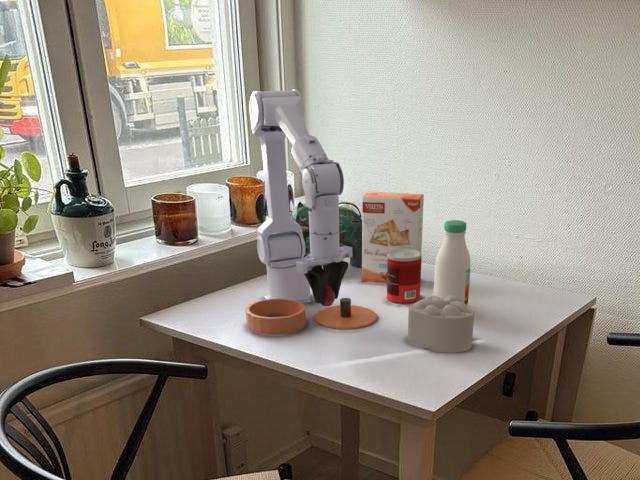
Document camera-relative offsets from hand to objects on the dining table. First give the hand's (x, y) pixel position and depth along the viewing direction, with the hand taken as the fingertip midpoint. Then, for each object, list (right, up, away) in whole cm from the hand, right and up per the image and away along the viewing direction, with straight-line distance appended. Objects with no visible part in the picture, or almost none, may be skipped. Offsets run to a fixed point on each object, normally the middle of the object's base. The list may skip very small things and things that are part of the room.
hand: (326, 300), depth 147 cm
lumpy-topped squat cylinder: (+24, -8, +3) cm, 25 cm away
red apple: (0, -1, +1) cm, 1 cm away
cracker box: (+15, +13, +36) cm, 41 cm away
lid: (+4, -1, +13) cm, 14 cm away
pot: (-11, -3, +11) cm, 16 cm away
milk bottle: (+27, +1, +17) cm, 32 cm away
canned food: (+17, +6, +24) cm, 30 cm away
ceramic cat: (-1, +19, +45) cm, 49 cm away
